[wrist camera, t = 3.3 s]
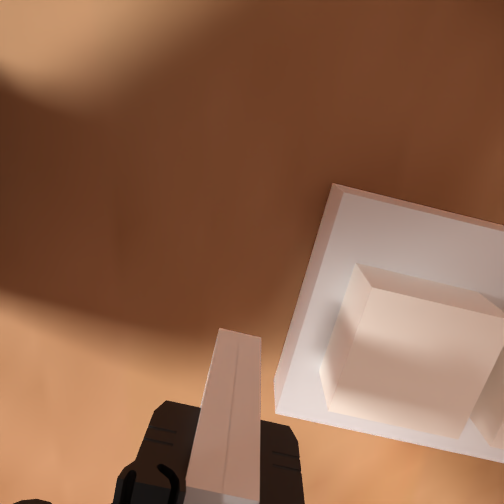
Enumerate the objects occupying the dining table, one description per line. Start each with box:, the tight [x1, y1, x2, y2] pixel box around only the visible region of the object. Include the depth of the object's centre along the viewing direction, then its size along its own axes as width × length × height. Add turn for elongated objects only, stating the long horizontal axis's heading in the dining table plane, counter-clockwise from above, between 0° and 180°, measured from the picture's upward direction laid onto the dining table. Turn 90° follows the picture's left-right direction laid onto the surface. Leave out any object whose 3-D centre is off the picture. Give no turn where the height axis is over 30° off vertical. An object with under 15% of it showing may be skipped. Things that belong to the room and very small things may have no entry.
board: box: [274, 183, 504, 463], centre depth 22 cm, size 16×12×3 cm
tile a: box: [319, 263, 504, 440], centre depth 19 cm, size 6×6×3 cm
